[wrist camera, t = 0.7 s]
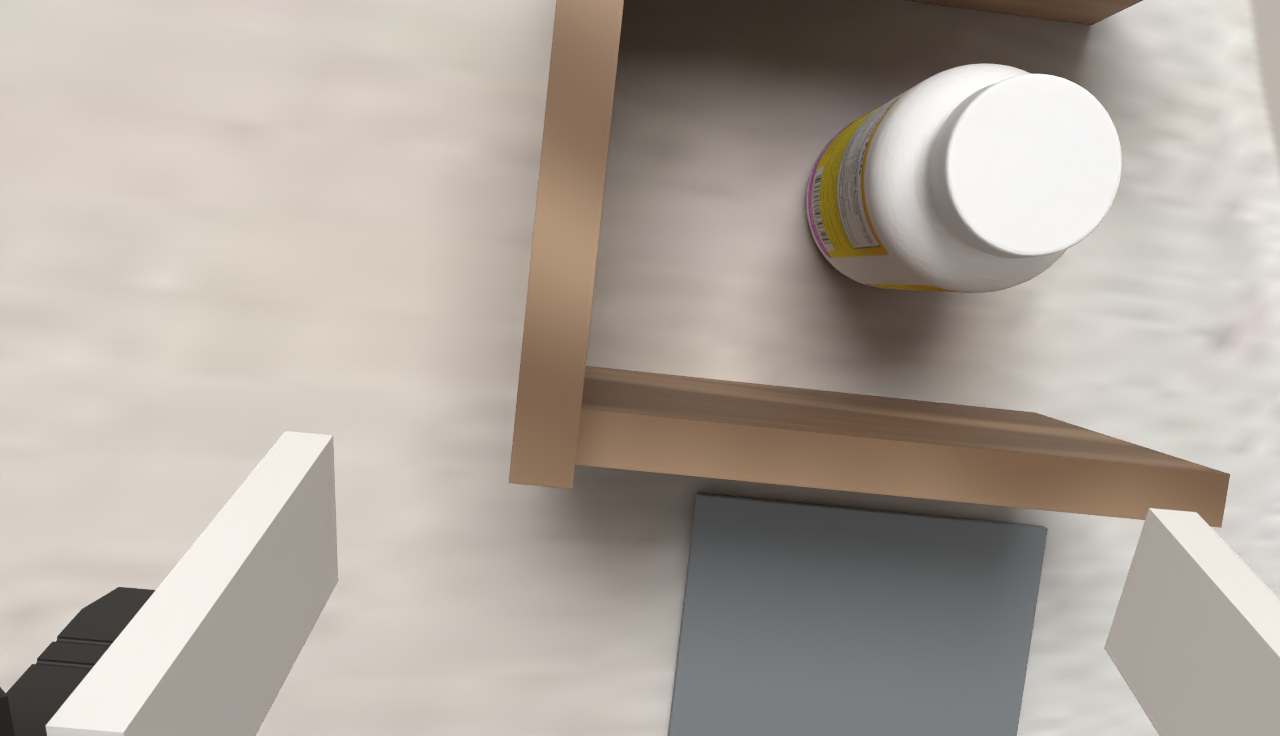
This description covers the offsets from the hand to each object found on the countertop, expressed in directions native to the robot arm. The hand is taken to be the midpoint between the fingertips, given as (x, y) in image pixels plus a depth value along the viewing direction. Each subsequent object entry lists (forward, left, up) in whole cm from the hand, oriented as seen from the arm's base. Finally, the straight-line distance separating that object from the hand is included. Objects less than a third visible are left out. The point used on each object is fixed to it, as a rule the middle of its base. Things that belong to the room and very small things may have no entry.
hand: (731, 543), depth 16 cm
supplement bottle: (+8, -8, -23) cm, 25 cm away
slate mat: (-11, -9, -22) cm, 27 cm away
